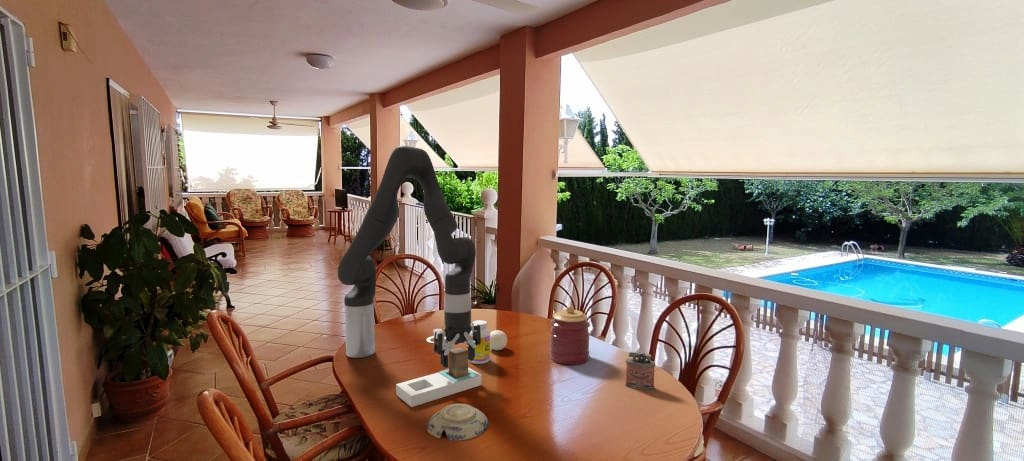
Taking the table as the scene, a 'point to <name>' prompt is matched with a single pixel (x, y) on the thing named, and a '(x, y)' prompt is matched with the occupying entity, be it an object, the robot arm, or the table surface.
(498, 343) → the baseball
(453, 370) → the walnut peg
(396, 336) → the table surface
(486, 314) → the table surface
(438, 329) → the teacup and saucer
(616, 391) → the table surface
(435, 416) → the decorative bowl
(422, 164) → the robot arm
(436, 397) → the socket rail
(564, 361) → the canister
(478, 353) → the supplement bottle
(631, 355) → the lighter
